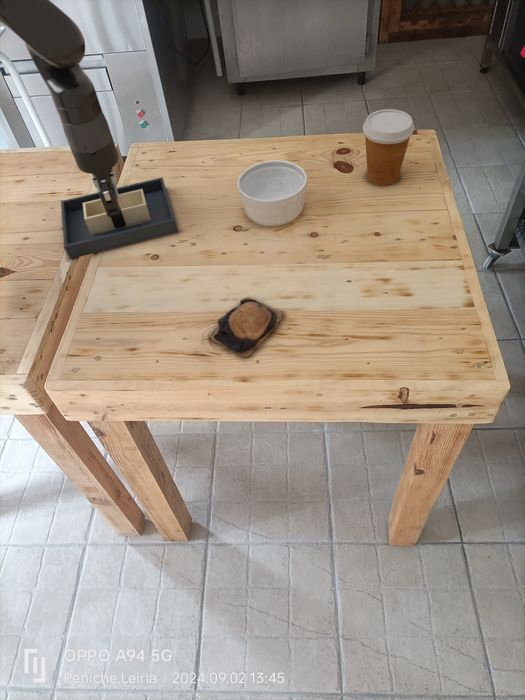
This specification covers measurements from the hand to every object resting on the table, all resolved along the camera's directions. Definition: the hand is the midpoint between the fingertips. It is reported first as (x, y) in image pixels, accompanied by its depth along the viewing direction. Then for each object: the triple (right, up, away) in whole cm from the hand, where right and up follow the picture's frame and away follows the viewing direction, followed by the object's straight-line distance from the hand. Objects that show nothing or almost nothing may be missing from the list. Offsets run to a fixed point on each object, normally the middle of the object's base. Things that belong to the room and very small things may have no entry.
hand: (118, 217), depth 106 cm
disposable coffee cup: (+53, +9, +3) cm, 54 cm away
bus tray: (0, -1, +1) cm, 1 cm away
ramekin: (+31, +1, -1) cm, 31 cm away
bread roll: (+26, -23, -19) cm, 40 cm away
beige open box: (0, 0, +1) cm, 1 cm away
